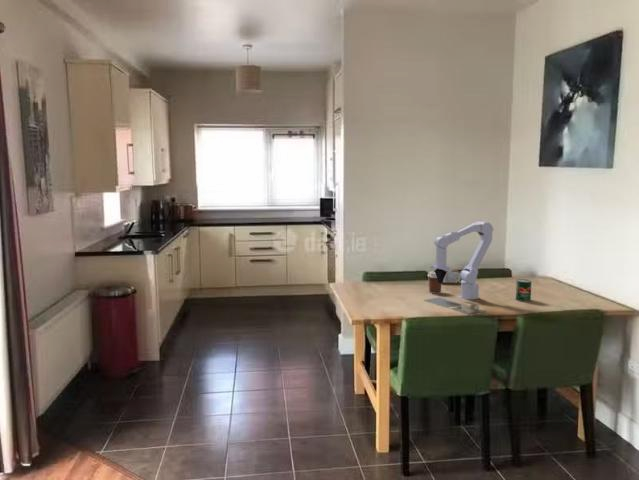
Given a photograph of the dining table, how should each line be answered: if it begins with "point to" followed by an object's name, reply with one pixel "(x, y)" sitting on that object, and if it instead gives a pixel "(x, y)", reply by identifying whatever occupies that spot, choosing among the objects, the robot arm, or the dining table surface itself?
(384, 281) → the dining table surface
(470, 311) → the ash block
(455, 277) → the tin
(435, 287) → the coffee cup
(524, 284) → the canned tomato
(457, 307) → the slide mat
